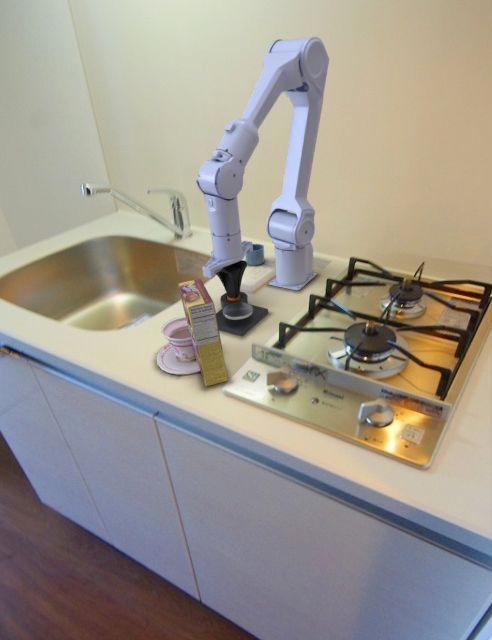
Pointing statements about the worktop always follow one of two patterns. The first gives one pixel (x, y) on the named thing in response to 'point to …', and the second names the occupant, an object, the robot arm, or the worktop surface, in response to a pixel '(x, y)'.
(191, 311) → the candy box
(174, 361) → the teacup
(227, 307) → the grey round disc
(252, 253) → the blue cup
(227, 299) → the tare button
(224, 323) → the scale
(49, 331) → the worktop surface
